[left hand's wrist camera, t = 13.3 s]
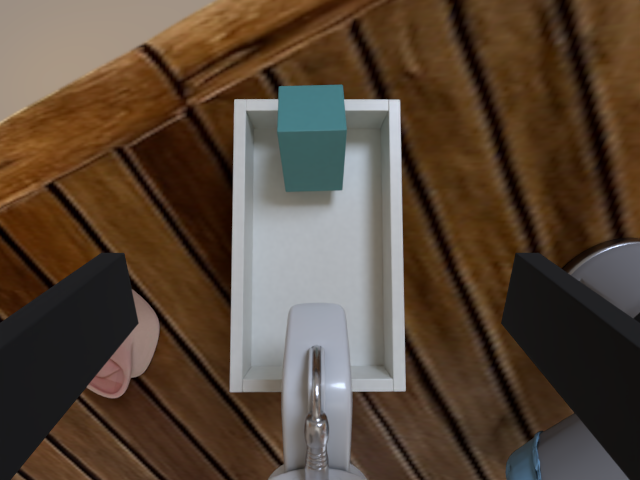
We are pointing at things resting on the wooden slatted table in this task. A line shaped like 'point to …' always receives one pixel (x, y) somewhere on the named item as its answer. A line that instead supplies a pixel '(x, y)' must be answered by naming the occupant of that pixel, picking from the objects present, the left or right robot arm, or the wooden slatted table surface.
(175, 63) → the wooden slatted table surface
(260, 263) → the tray
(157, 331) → the anatomical model
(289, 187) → the block
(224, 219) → the wooden slatted table surface
